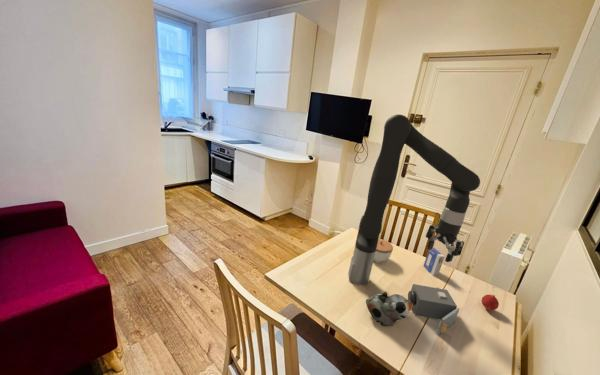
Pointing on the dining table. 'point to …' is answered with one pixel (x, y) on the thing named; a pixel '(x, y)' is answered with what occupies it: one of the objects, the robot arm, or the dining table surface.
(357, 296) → the dining table surface
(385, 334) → the dining table surface
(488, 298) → the red bumpy ovoid
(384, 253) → the lidded bowl
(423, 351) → the dining table surface
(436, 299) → the camera housing
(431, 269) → the walkman
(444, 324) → the door
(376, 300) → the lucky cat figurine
